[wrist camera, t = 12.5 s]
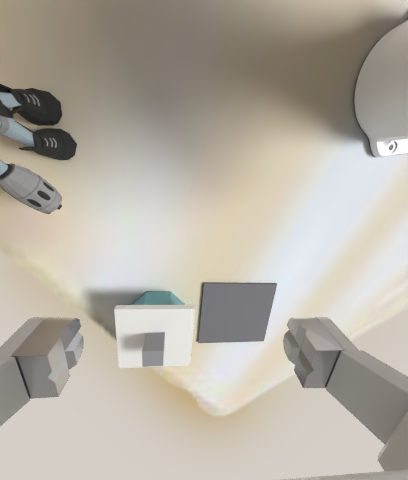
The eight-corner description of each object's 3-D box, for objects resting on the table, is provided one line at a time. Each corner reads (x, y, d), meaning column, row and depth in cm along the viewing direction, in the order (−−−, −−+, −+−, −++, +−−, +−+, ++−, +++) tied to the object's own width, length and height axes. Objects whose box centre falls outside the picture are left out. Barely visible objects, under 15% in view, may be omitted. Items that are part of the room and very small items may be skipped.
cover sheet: (194, 304, 33) (196, 325, 29) (190, 360, 37) (191, 385, 33) (116, 305, 31) (106, 326, 27) (120, 362, 35) (112, 389, 31)
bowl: (186, 291, 38) (187, 309, 33) (184, 334, 41) (184, 356, 36) (130, 291, 36) (122, 310, 32) (132, 335, 40) (126, 358, 35)
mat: (275, 283, 39) (276, 284, 39) (262, 339, 44) (263, 341, 44) (203, 282, 37) (203, 283, 37) (198, 341, 42) (198, 343, 42)
